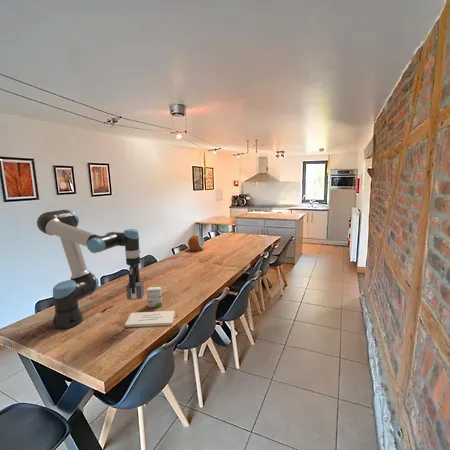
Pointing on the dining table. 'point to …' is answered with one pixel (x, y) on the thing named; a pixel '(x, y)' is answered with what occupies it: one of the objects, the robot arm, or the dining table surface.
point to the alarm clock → (196, 243)
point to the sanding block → (138, 291)
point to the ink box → (154, 296)
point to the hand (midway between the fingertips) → (135, 295)
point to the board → (150, 319)
